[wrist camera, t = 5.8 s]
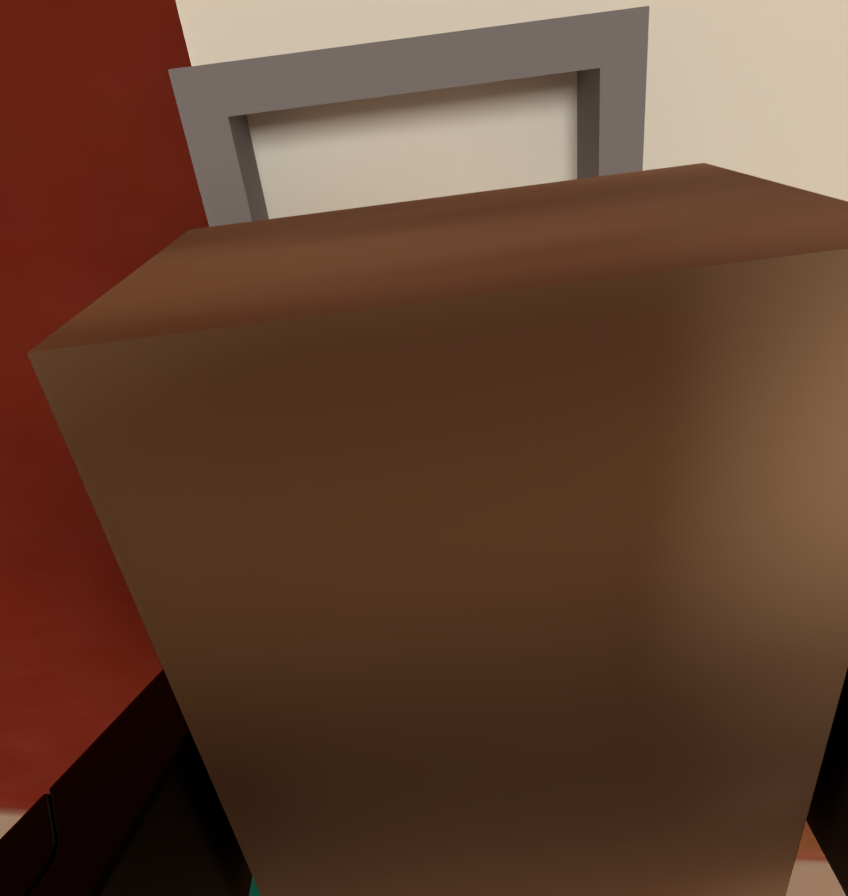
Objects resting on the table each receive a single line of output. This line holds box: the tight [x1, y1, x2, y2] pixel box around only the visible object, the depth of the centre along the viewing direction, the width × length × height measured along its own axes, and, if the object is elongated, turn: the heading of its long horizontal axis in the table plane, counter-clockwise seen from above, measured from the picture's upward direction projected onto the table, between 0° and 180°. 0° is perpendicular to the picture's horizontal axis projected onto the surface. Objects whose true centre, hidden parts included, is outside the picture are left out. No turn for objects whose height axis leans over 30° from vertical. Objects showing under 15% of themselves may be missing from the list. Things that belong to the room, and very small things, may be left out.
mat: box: [168, 0, 848, 227], centre depth 18 cm, size 23×17×3 cm
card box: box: [27, 163, 848, 896], centre depth 8 cm, size 10×6×4 cm, turn 7°
